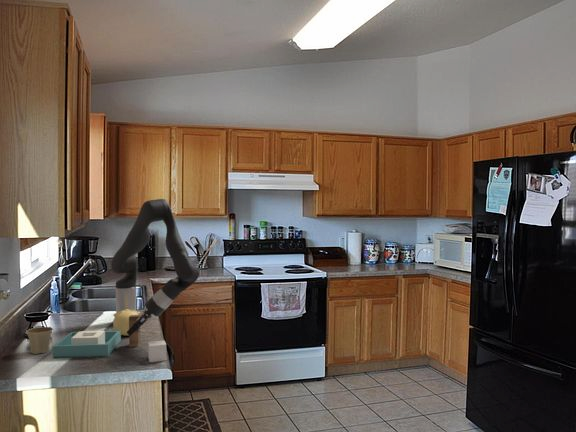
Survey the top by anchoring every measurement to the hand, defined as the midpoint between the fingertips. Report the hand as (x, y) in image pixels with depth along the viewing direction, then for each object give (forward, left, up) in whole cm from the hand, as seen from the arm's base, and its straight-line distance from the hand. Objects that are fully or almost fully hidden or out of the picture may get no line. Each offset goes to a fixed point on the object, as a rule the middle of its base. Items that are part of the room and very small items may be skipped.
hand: (129, 332), depth 206 cm
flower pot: (+5, -33, -6) cm, 34 cm away
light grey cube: (+19, +14, -6) cm, 24 cm away
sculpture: (-18, -5, -6) cm, 19 cm away
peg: (0, +2, -5) cm, 6 cm away
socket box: (+4, -15, -5) cm, 16 cm away
